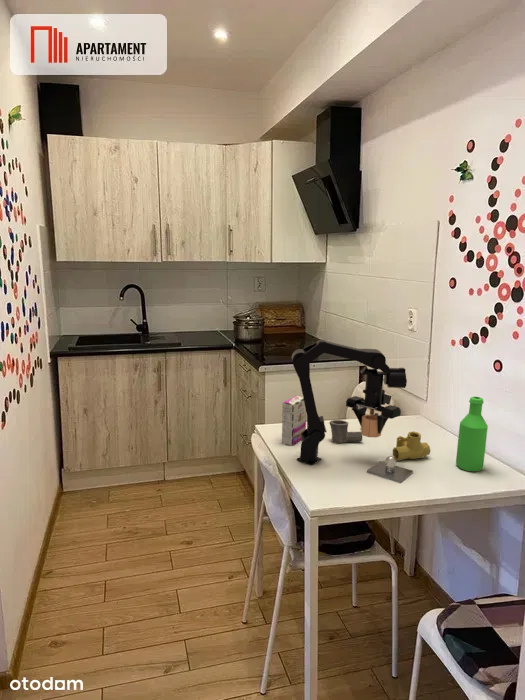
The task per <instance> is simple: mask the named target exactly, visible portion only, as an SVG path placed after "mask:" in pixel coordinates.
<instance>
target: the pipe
mask: <svg viewBox="0 0 525 700" xmlns="http://www.w3.org/2000/svg"><path fill="white" fill-rule="evenodd" d="M329 425H330V428H331V429H330V431H331V440H332V442H334V443H337V444H339V443H340V444H343V443H346V442H347V443H350V442H352V443H353V442H355V443H356V442H362V441H363V435H362V434H361V431H348V427H349V422H348V421H346V420H341V419H332V420H330V421H329Z"/></svg>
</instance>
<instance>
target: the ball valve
mask: <svg viewBox="0 0 525 700" xmlns="http://www.w3.org/2000/svg"><path fill="white" fill-rule="evenodd" d="M421 439H422V435H421V433H419V432H418V431H417V432H416V431H409V432H408V433H407V436H406V437H404V436H402V435H400V436H398V437H396V444H395V445H396V446H395V447H393V449H392V456H393V457H394V458H395V461H402V460H407V459H409V460H415V459H423V458H425V457H427V456H430V454H431V447H430V445H429V444H428V442H421Z"/></svg>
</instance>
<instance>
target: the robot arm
mask: <svg viewBox="0 0 525 700" xmlns="http://www.w3.org/2000/svg"><path fill="white" fill-rule="evenodd" d="M323 354H327V355H330V356H331V355H332V356H334V357H339V358H343V359H347V360H352V361H356V362H358V363H361V364H362V365H365V366H364V367H363V368H362V369H360V373H361V375H363V376H364V375H365V388H364V389H363V390H362V393H363V394H364V397H361V396H357V395H354V396H351V397H347V399H346V402H345V407H347V408H351V411H353V413H354V414H355V416H356V419H357V420H358V423H359V426H361V425H362V416H363V415H366V413H367V409H369V410H370V409H372V410H374V411H377V412H380V414H379V415H378V416H377V423H378V433H379V434H380V433H381V434H382V431H383V430H384V427H385V425H386V423H387V422H388V420H389V419H392V420H393V419H395V418H397V417H400V416H401V415H402V414H401V412H402V410H401V408H400V407H399V406H395V405H391V400H392V395H389V394H387V393H385V392H386V391H385V389H383V387H384V385H385V386H387V388H389V389H391V388H392V389H393V388H395V389H398V388H399V389H405V388H407V383H408V380H407V374H406V368H404V367H390V366H389V365H388V364H387V360H386V356H385V354H383V352H382V351H380V350H379V349H376V348H356V347H353V346H352V347H351V346H348V345H344V344H340V343H336V342H331V341H327V340H326V339H319V340H317V341H316V342H314V343H312V344H309V345H307V346H305V347H303V348H302V349H301V348H299V349H295V350H294V351H293V352H292V354H291V362H292V365H293V368H294V370H295V373H296V375H297V377H298V380H299V383H300V384H299V385H300V389H301V393H302V397H303V398H304V403H305V408H306V430H305V431H303V432H302V433H301V438H302V440H301V444H300V456H299V457H297V458H296V461H298V462H301V463H304V464H307V465H310V466H311V465H315V464H316V463H319V462H320V461H322V457H319V445H320V443H321V442H323V440H324V439H326V438H325V437H326V433H327V428H326V424H325V419H324V416H323V415H320V416H319V414H318V411H317V406H316V400H315V397H314V391H313V387H312V383H311V382H312V381H311V378H310V377H311V376H310V375H311V372H310V371H311V370H310V369H311V368H310V367H311V366H310V364H311V363H312V362H314V361H315V360H316V359H317V358H319V357H320V356H321V355H323ZM368 367H369V368H368ZM378 370H380V371H378ZM384 405H387V406H384Z"/></svg>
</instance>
